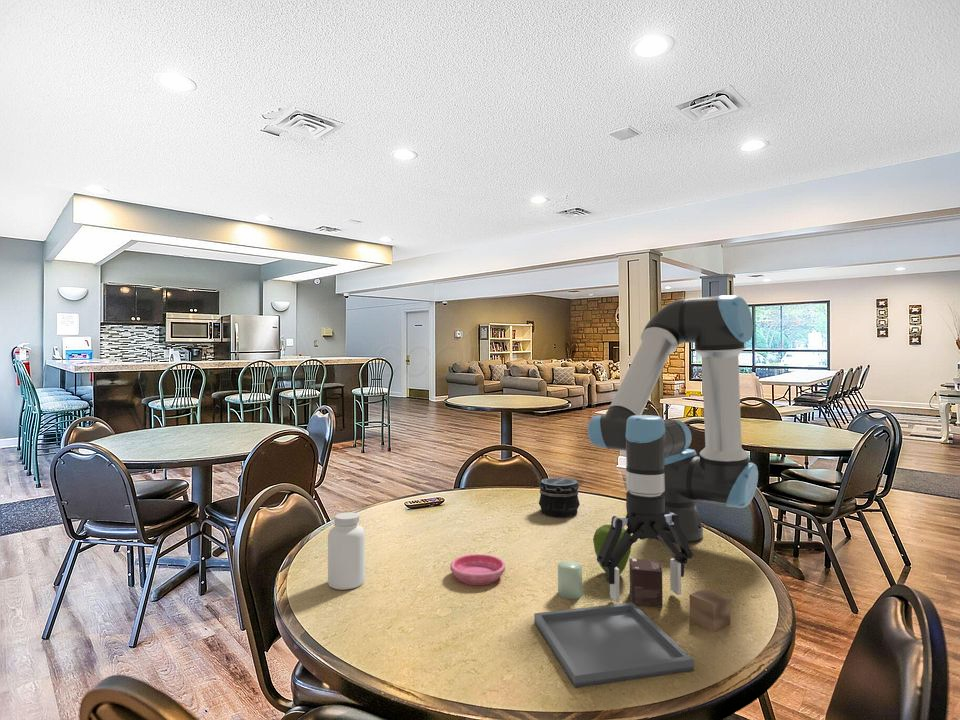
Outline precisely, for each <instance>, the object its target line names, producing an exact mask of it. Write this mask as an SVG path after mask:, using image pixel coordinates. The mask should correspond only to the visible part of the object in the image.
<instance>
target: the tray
mask: <svg viewBox="0 0 960 720" xmlns="http://www.w3.org/2000/svg"><path fill="white" fill-rule="evenodd" d="M533 618H534V624H535V626H536V628H537V630H538V631H539V632H540V634H541V636H542V638H543V639H544V640H546V641H545V642H546V644H547V645H548V647H549V649H550V648H551V649H550V650H551V652H552V653H553V654H554V655H553V656H555V658H556V660H557V661H558V662H559V665H560V667H562V669H563V671H564V672H565V674H566V676H567V677H568V679H569V680H570V682H571V684H572V685H573V687H574V688H582V687H589V686H596V685H603V684H611V683H616V682H622V681H630V680H636V679H638V680H639V679H644V678H651V677H658V676H665V675H672V674H677V673H686V672H693V671H694V669H695V666H694V661H695V659H694V658H693V657H692V656H691V655H690V654H689V653H688V652H687V651H686V650H685V649H683V648H682V647H681V646H680V645H679V643H677V642H676V641H675V640H673V638H672V637H670V636H669V635H668V633H666V632H665V631H664V630H663V629H662V628H660V626H659V625H658V624H656V623H655V622H654V621H653V620H652V618H650V617H649V616H648V615H647V614H646V613H644V612H643V611H642V609H640V607H638V605H635V604H634V603H633V602H631V601H630V602H624V603H623V602H622V603H614V604H606V605H597V606H587V607H586V606H585V607H578V608H570V609H562V610H561V609H560V610H552V611H543V612H542V611H541V612H534V617H533Z"/></svg>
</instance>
